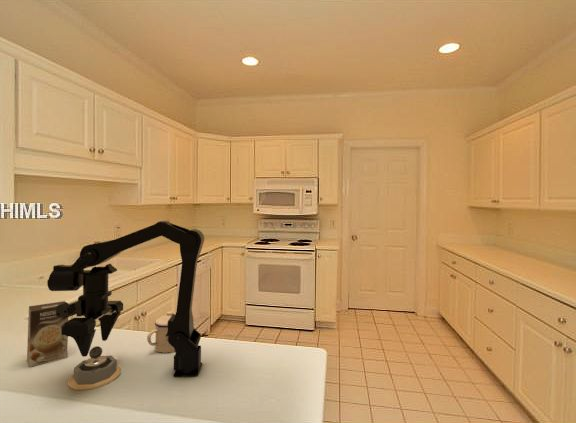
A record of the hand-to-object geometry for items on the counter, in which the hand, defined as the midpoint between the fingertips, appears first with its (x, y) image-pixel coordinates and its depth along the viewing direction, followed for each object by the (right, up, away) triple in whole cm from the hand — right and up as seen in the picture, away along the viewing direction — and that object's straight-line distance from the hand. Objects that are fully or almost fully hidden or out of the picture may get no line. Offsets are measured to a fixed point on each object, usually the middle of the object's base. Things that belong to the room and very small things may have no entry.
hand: (95, 347), depth 80 cm
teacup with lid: (+12, -8, +17) cm, 22 cm away
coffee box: (-21, -8, +10) cm, 24 cm away
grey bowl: (0, -8, 0) cm, 8 cm away
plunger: (0, -6, 0) cm, 6 cm away
